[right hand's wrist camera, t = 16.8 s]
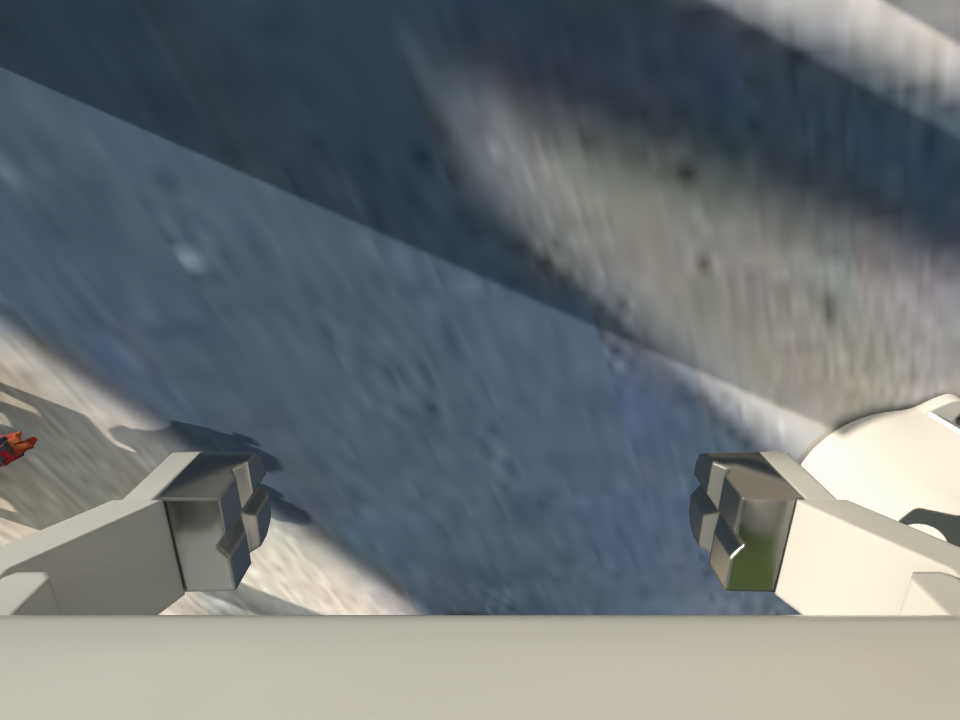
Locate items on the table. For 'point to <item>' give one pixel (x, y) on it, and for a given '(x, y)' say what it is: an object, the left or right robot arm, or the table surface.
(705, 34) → the table surface
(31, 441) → the toy
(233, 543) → the right robot arm
